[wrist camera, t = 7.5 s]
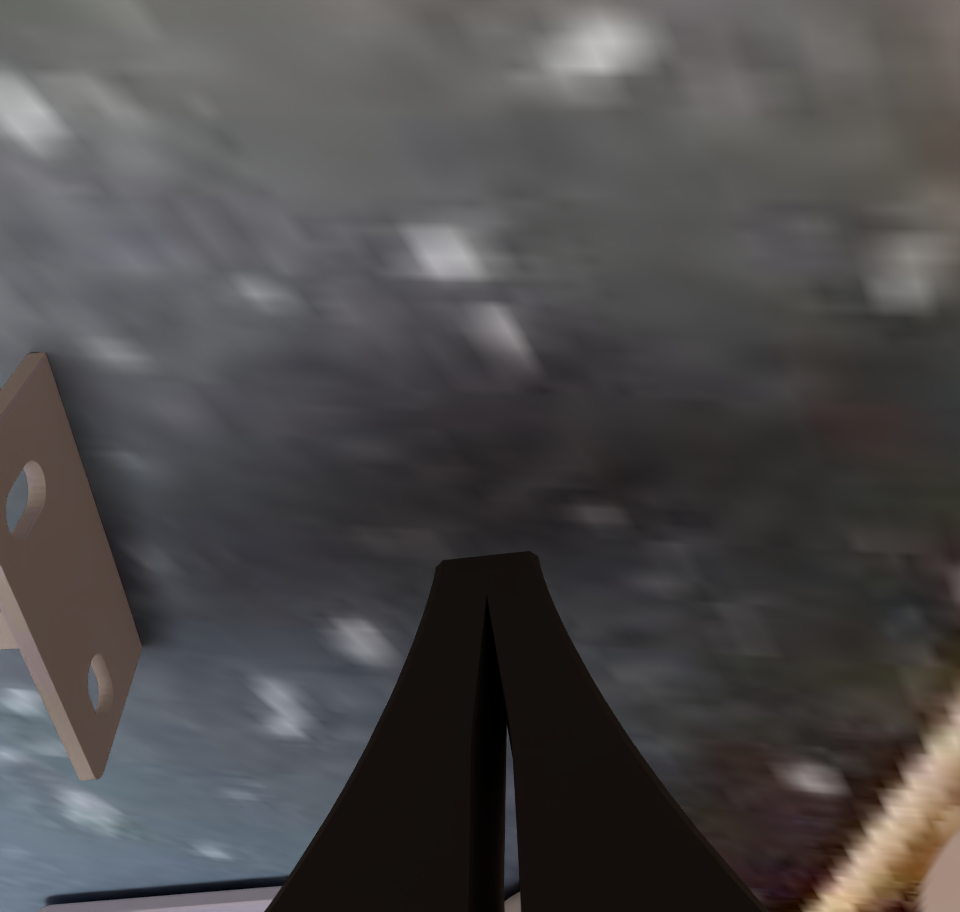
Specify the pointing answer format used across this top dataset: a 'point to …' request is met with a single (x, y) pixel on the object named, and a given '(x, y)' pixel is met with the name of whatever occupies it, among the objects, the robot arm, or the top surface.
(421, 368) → the top surface
